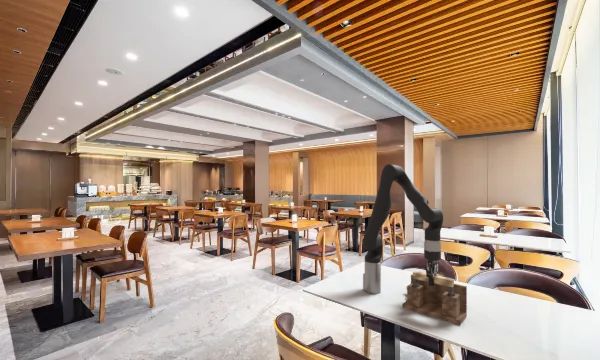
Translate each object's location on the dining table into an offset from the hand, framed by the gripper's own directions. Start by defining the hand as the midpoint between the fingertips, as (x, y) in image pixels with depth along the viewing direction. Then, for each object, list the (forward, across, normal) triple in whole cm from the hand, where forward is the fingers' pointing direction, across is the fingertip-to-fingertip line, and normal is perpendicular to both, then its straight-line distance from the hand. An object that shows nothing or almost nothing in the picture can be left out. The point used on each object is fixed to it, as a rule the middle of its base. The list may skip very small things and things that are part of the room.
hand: (432, 284), depth 137 cm
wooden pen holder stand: (+14, -2, 0) cm, 14 cm away
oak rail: (+3, 0, 0) cm, 3 cm away
